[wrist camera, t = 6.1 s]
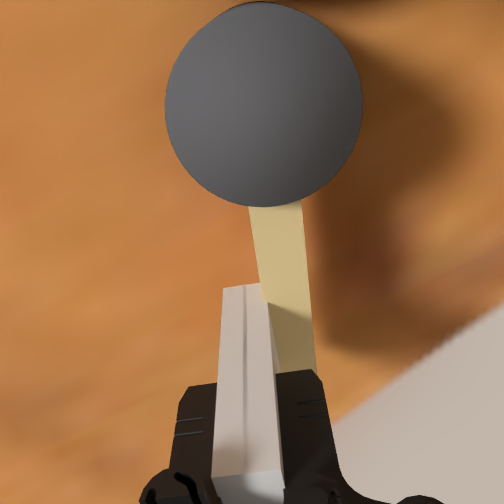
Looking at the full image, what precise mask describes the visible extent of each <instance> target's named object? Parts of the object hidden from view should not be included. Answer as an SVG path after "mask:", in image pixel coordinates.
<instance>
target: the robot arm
mask: <svg viewBox="0 0 504 504" xmlns="http://www.w3.org/2000/svg"><path fill="white" fill-rule="evenodd" d="M176 420H177V423H176V426H175V432H174V435H175V437H174V439H173V445H172V452H171V458H170V465H169V468H168V469H165V470H163V471H161V472H160V473H158V474H157V475H156V476H154V477H153V478H152V479H151V480H150V481H149V482H148V484H147V485H146V486H145V487H144V489H143V492H142V494H141V497H140V499H139V502H140V504H390V503H385V502H381V501H376V500H373V499H370V498H367V497H364V496H362V495H360V494H359V493H357V492H356V491H354V490H353V489H352V488H351V487H350V486H349V485H348V484H347V482H346V481H345V479H344V478H343V476H342V474H341V471H340V468H339V463H338V458H337V453H336V449H335V444H334V439H333V434H332V429H331V424H330V419H329V414H328V409H327V404H326V399H325V394H324V389H323V384H322V381H321V380H320V379H319V378H318V376H317V375H316V374H315V372H314V371H313V370H312V369H305V370H298V371H291V372H284V373H280V365H279V360H278V355H277V349H276V344H275V339H274V334H273V329H272V323H271V318H270V313H269V308H268V303H267V302H263V297H262V291H261V284H260V283H254V284H248V285H241V286H234V287H228V288H223V303H222V319H221V334H220V349H219V365H218V380H217V383H211V384H204V385H197V386H190V387H188V389H187V390H186V392H185V394H184V395H183V397H182V399H181V400H180V402H179V406H178V413H177V419H176ZM397 504H443V503H442V502H440V501H438V500H437V499H434V498H432V497H427V496H422V495H417V496H411V497H406V498H405V499H403V500H402V501H400V502H399V503H397Z"/></svg>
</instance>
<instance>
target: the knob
mask: <svg viewBox="0 0 504 504" xmlns="http://www.w3.org/2000/svg"><path fill="white" fill-rule="evenodd" d="M362 111H363V98H362V88H361V83H360V79H359V75H358V72H357V70H356V67H355V64H354V62H353V60H352V58H351V56H350V54H349V52H348V51H347V49H346V48H345V46H344V45H343V44H342V42H341V41H340V40H339V39H338V38H337V36H336V35H335V34H334V33H333V32H332V31H331V30H330V29H328V28H327V27H326V26H325V25H323V24H322V23H321V22H319V21H318V20H316V19H314V18H313V17H311V16H309V15H307V14H305V13H303V12H300V11H297V10H295V9H292V8H289V7H286V6H284V5H281V4H277V3H273V2H264V1H256V2H248V3H244V4H240V5H237V6H235V7H232V8H230V9H228V10H226V11H225V12H223V13H221V14H220V15H219V16H217V17H216V18H215V19H213V20H212V21H211V22H209V23H208V24H207V25H205V26H204V27H203V28H202V29H200V30H199V31H198V32H197V33H196V34H195V35H194V36H193V37H192V38H191V39H190V40H189V42H188V43H187V44H186V46H185V47H184V48H183V50H182V51H181V53H180V54H179V56H178V58H177V60H176V62H175V64H174V66H173V69H172V72H171V74H170V77H169V81H168V85H167V90H166V98H165V119H166V125H167V131H168V134H169V138H170V141H171V144H172V146H173V148H174V151H175V153H176V155H177V157H178V158H179V160H180V162H181V163H182V165H183V166H184V168H185V169H186V170H187V171H188V173H189V174H190V175H191V176H192V177H193V178H194V179H195V180H196V181H197V182H198V183H199V184H200V185H201V186H203V187H204V188H205V189H207V190H208V191H210V192H211V193H213V194H215V195H216V196H218V197H220V198H222V199H225V200H227V201H229V202H233V203H236V204H239V205H244V206H248V208H249V214H250V221H251V227H252V233H253V240H254V246H255V252H256V259H257V265H258V272H259V278H260V284H261V291H262V297H263V302H267V303H268V308H269V313H270V318H271V323H272V329H273V334H274V339H275V344H276V349H277V355H278V360H279V365H280V373H284V372H291V371H298V370H305V369H312V370H313V371H314V372H315V374H316V375H317V369H316V358H315V347H314V336H313V325H312V314H311V303H310V292H309V282H308V271H307V260H306V249H305V238H304V227H303V216H302V205H301V199H303V198H305V197H307V196H309V195H311V194H312V193H314V192H316V191H317V190H319V189H320V188H321V187H323V186H324V185H325V184H327V183H328V182H329V181H330V180H331V179H332V178H333V177H334V176H335V175H336V174H337V173H338V171H339V170H340V169H341V168H342V166H343V165H344V164H345V162H346V160H347V159H348V157H349V155H350V154H351V152H352V150H353V147H354V145H355V143H356V140H357V137H358V134H359V131H360V126H361V121H362Z"/></svg>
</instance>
